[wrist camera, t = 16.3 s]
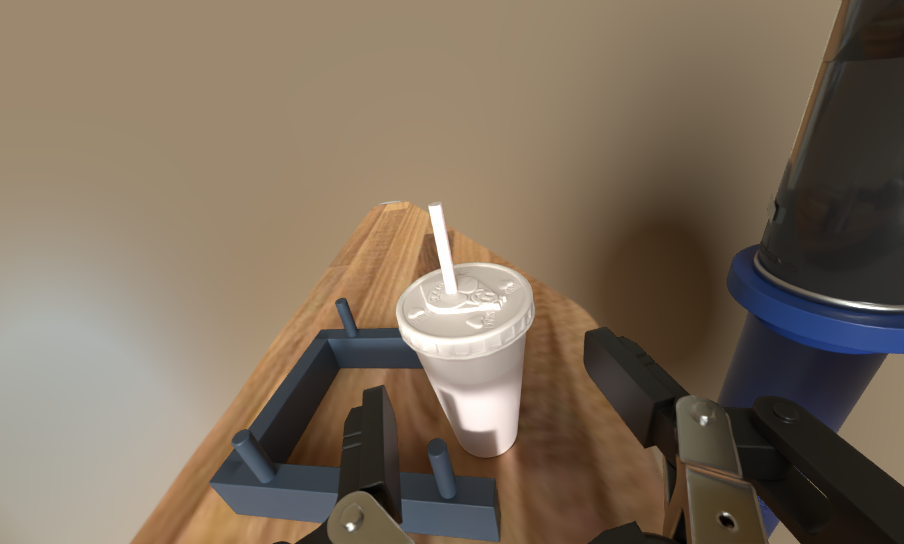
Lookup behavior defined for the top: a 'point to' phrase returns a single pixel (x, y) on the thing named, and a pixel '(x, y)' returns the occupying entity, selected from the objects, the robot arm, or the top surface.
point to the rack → (316, 487)
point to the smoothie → (470, 342)
